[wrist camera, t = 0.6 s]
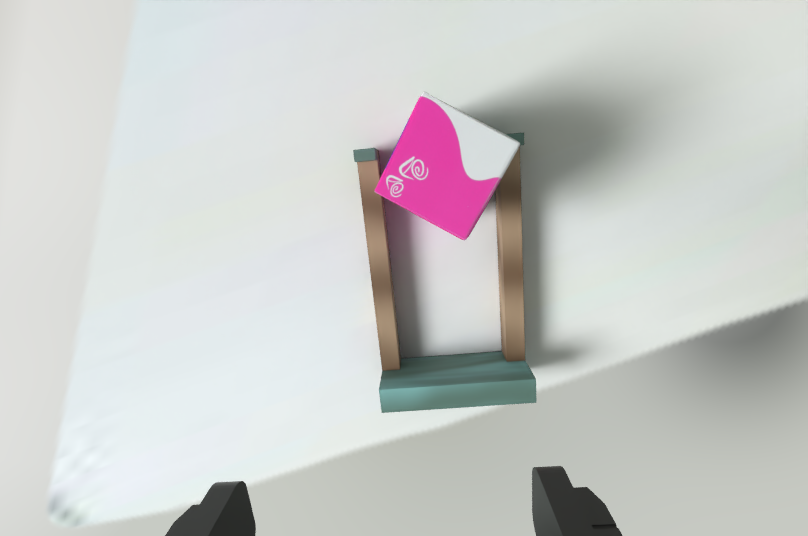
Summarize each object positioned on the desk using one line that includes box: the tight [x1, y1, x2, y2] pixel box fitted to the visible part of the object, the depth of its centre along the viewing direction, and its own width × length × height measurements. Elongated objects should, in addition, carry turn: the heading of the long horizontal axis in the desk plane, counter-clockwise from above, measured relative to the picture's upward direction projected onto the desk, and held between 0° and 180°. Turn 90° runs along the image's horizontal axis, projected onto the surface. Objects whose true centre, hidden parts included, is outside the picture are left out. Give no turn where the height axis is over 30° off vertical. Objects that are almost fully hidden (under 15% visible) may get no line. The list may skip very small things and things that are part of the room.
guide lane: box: [353, 133, 536, 413], centre depth 30 cm, size 20×12×5 cm, turn 5°
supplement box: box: [375, 92, 520, 240], centre depth 25 cm, size 6×6×12 cm
